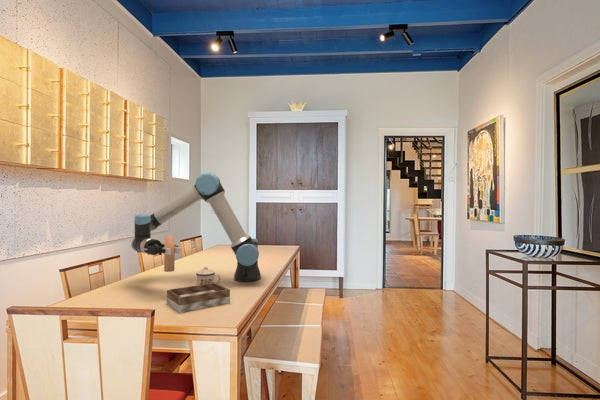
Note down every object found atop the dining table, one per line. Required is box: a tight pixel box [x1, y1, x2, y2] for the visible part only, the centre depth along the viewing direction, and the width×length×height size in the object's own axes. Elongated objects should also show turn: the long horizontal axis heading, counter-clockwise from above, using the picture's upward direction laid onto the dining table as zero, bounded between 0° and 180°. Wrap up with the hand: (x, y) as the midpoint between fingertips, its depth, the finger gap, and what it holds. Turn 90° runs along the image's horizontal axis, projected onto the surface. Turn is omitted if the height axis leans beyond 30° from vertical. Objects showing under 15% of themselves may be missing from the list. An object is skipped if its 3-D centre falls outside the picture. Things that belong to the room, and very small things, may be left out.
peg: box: [163, 235, 176, 273], centre depth 160 cm, size 4×4×16 cm
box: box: [166, 282, 231, 314], centre depth 152 cm, size 22×16×6 cm
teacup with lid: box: [195, 266, 222, 285], centre depth 175 cm, size 12×9×12 cm
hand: (175, 251), depth 157 cm, fingers closed on peg, 4 cm apart
